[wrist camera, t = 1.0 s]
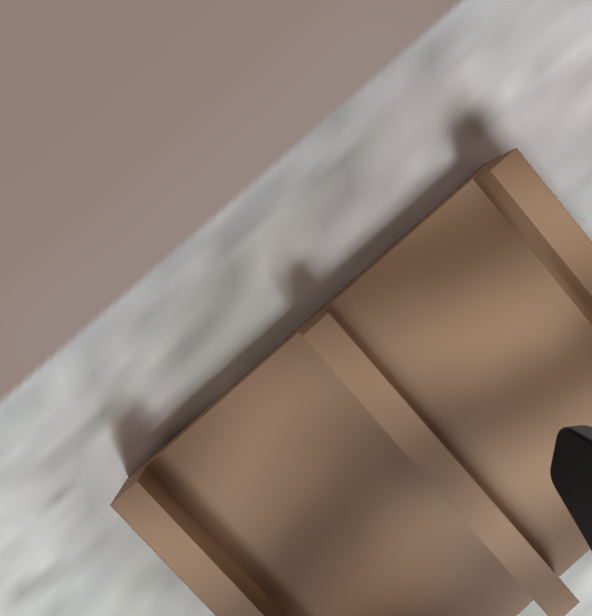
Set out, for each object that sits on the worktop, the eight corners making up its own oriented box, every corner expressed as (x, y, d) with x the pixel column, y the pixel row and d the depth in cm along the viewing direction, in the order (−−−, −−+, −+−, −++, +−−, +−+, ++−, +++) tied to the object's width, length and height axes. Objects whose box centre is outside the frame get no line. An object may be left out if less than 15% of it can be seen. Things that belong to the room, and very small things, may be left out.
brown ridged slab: (697, 425, 22) (753, 444, 20) (363, 727, 22) (377, 785, 19) (485, 163, 21) (516, 147, 18) (127, 477, 21) (110, 505, 18)
